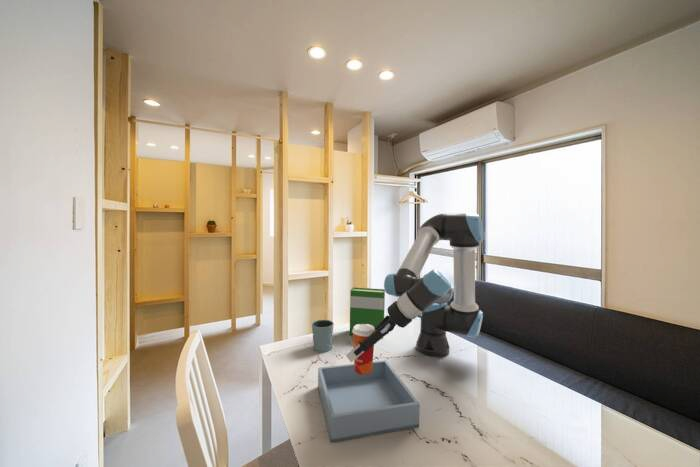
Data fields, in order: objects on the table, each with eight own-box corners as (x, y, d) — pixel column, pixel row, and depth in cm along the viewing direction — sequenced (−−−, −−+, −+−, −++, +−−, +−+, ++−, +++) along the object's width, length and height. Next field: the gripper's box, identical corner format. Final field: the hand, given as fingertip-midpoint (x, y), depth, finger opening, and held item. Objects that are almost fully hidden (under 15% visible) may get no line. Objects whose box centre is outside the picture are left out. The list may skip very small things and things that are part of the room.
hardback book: (383, 332, 148) (384, 289, 148) (382, 338, 141) (384, 292, 140) (352, 330, 152) (352, 287, 151) (349, 335, 144) (350, 290, 144)
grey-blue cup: (337, 347, 130) (337, 322, 129) (324, 355, 121) (324, 328, 121) (320, 342, 135) (321, 318, 135) (306, 349, 127) (307, 324, 126)
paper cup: (350, 364, 91) (351, 323, 91) (373, 363, 92) (373, 322, 91) (352, 377, 83) (353, 332, 83) (377, 376, 84) (378, 331, 84)
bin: (385, 378, 104) (386, 360, 104) (419, 427, 79) (419, 403, 79) (318, 386, 98) (318, 367, 97) (330, 443, 73) (331, 417, 72)
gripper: (407, 332, 72) (349, 378, 78) (417, 310, 91) (370, 349, 97) (388, 309, 74) (333, 357, 80) (401, 293, 93) (356, 332, 99)
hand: (353, 352), depth 89 cm, fingers closed on paper cup, 8 cm apart
